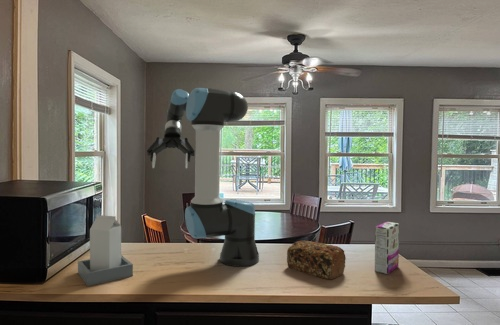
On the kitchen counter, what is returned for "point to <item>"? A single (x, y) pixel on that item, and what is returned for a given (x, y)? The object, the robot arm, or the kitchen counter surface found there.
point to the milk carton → (105, 243)
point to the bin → (104, 272)
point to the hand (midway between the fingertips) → (169, 166)
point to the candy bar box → (386, 247)
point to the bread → (316, 259)
